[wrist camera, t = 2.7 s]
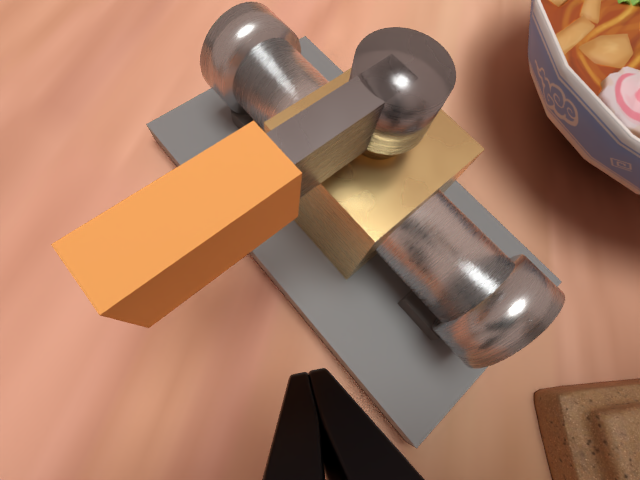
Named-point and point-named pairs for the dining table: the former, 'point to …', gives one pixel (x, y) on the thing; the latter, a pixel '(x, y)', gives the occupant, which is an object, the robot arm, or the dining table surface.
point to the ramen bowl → (591, 79)
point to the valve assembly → (374, 233)
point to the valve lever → (253, 182)
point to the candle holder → (591, 430)
